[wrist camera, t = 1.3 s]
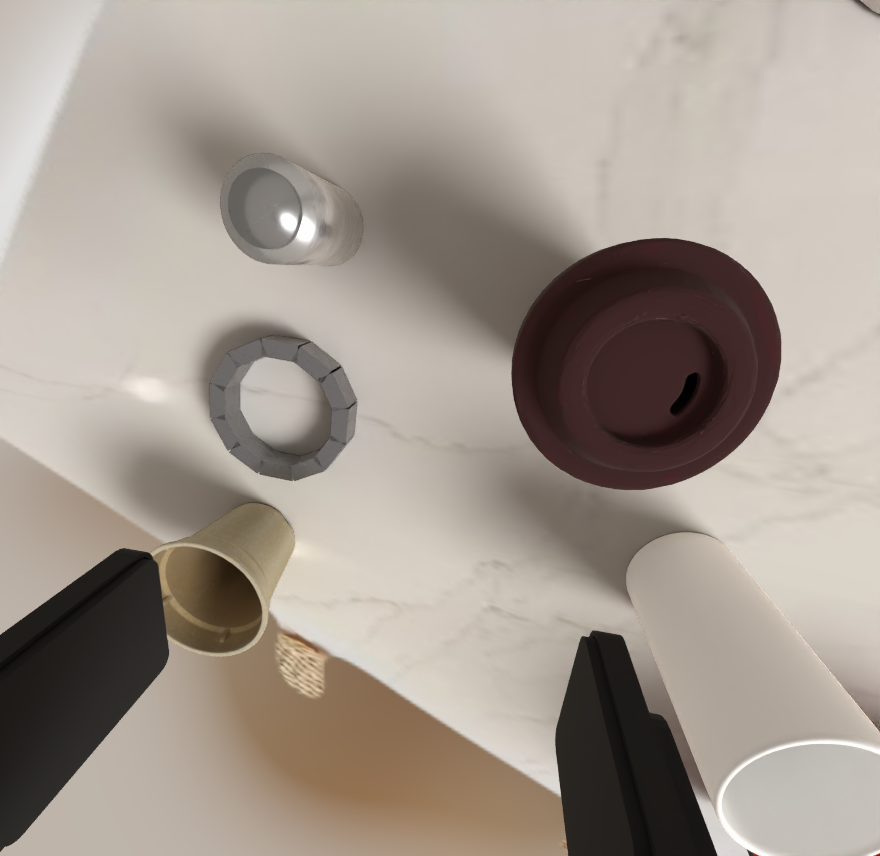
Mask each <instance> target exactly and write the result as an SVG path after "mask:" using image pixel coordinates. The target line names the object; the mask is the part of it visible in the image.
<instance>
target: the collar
mask: <svg viewBox="0 0 880 856" xmlns="http://www.w3.org/2000/svg"><path fill="white" fill-rule="evenodd" d="M264 357H269V358H275V359H280V360H286V361H291V362H295V363H296V364H297V365H299V366H300V367H301V368H302V369H304V370H305V371H306V372H307V373H309V374H310V375H311V376H313V377H314V378H315V379H316V380H318V381H319V382H320V385H321V387H322V389H323V391H324V393H325V395H326V397H327V400H328V402H329V404H330V406H331V408H332V419H331V433H330V438H329V440H328V441H327V442H326V444H325V445H324V446H323V448H322V449H320V450H317V451H314V452H311V453H308V454H306V455H303V456H298V455H293V454H288V453H283V452H278V451H274V450H273V449H272V448H271V447H269V446H268V445H267V444H265V443H264V442H263V441H261V440H260V439H259V438H257V437H256V436H255V435H253V433H252V431H251V429H250V428H249V426H248V424H247V422H246V420H245V418H244V416H243V414H242V412H241V410H240V382H241V381H242V379H243V378H244V376H245V375H246V373H247V371H248V370H249V368H250V367H251V365H252V364H253V362H254V361H257V360H259V359H261V358H264ZM340 366H341V365H340V364H339V363H337V362H336V361H335V360H334V359H332V358H331V357H330V356H329V355H327V354H326V353H325V352H324V351H322V350H321V349H320V348H319V347H317V346H316V345H315V344H314V343H313V342H311V343H310V341H306V340H301V339H295V338H290V337H284V336H278V335H274V336H273V335H272V336H268V337H265V338H261V339H258V340H256V341H253V342H251V343H249V344H246V345H244V346H242V347H239V348H237V349H234V350H232V351H230V352H229V353H227V354H226V355H225V357H224V359H223V360H222V362H221V364H220V365H219V367H218V368H217V370H216V372H215V373H214V375H213V377H212V378H211V380H210V382H211V383H209V396H210V417H211V418H213V419H211V421H212V423H213V425H214V427H215V428H216V430H217V432H218V434H219V436H220V438H221V439H222V441H223V443H224V445H225V447H226V449H227V450H231V451H230V452H229V453H231V454H232V455H233V456H235V457H236V458H237V459H239V460H240V461H241V462H243V463H244V464H245V465H247V466H248V467H249V468H251V469H252V470H253V471H255V472H256V473H259V472H260V475H265V476H270V477H275V478H280V479H285V480H290V481H293V480H294V481H296V480H299V479H302V478H305V477H308V476H311V475H314V474H317V473H320V472H323V471H325V470H326V469H327V468H328V467H329V466H330V465H331V464H332V462H333V461H334V460H335V459H336V458H337V457H338V455H339V454H340V453H341V451H342V450H343V449H344V448H345V446H346V445H347V444H348V443H349V441H350V440H351V439H352V438H353V435H354V432H355V422H356V411H357V402H355V401H356V400H357V399H356V397H355V394H354V392H353V390H352V388H351V385H350V383H349V381H348V379H347V376H346V374H345V372H344V370H343V367H342V368H339V367H340ZM338 368H339V369H338Z"/></svg>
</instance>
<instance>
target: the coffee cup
mask: <svg viewBox="0 0 880 856" xmlns="http://www.w3.org/2000/svg"><path fill="white" fill-rule="evenodd" d="M780 364H781V334H780V329H779V325H778V322H777V318H776V315H775V312H774V309H773V306H772V304H771V302H770V300H769V298H768V296H767V295H766V293H765V291H764V290H763V288H762V287H761V285H760V284H759V282H758V281H757V280H756V279H755V278H754V277H753V276H752V274H751V273H750V272H749V271H748V270H746V269H745V268H744V267H743V266H742V265H741V264H739V263H738V262H737V261H735V260H734V259H732V258H731V257H729V256H728V255H726V254H724V253H722V252H720V251H718V250H716V249H714V248H711V247H708V246H705V245H702V244H698V243H695V242H691V241H686V240H680V239H670V238H653V239H643V240H637V241H632V242H626V243H622V244H618V245H615V246H612V247H608V248H605V249H602V250H600V251H597V252H595V253H593V254H591V255H589V256H587V257H585V258H583V259H581V260H579V261H578V262H576V263H575V264H573V265H572V266H570V267H569V268H567V269H566V270H565V271H564V272H562V273H561V274H560V275H559V276H557V277H556V278H555V279H554V280H553V281H552V282H551V283H550V284H549V285H548V286H547V287H546V288H545V289H544V290H543V292H542V293H541V294H540V295H539V296H538V298H537V299H536V300H535V302H534V303H533V305H532V306H531V308H530V309H529V311H528V313H527V315H526V317H525V319H524V321H523V323H522V325H521V328H520V330H519V333H518V336H517V339H516V342H515V347H514V352H513V357H512V372H511V374H512V388H513V396H514V401H515V405H516V409H517V413H518V415H519V418H520V421H521V423H522V425H523V427H524V429H525V431H526V432H527V434H528V436H529V438H530V439H531V441H532V442H533V443H534V445H535V446H536V447H537V449H538V450H539V451H540V452H541V453H542V454H543V455H544V456H545V457H546V458H547V459H548V460H549V461H551V462H552V463H553V464H554V465H555V466H557V467H558V468H560V469H561V470H563V471H565V472H566V473H568V474H570V475H571V476H573V477H575V478H577V479H580V480H582V481H584V482H587V483H591V484H594V485H597V486H601V487H606V488H612V489H620V490H645V489H652V488H657V487H662V486H667V485H672V484H675V483H678V482H681V481H684V480H686V479H689V478H691V477H693V476H696V475H698V474H700V473H702V472H704V471H705V470H707V469H709V468H711V467H712V466H714V465H715V464H717V463H718V462H720V461H721V460H723V459H724V458H725V457H727V456H728V455H729V454H730V453H731V452H733V451H734V450H735V449H736V448H737V447H738V446H739V445H740V444H741V443H742V442H743V441H744V440H745V439H746V438H747V437H748V435H749V434H750V433H751V432H752V431H753V430H754V428H755V427H756V425H757V424H758V422H759V421H760V419H761V418H762V416H763V414H764V413H765V411H766V409H767V407H768V405H769V403H770V400H771V398H772V395H773V392H774V389H775V387H776V384H777V381H778V377H779V370H780Z"/></svg>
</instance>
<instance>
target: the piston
mask: <svg viewBox="0 0 880 856" xmlns="http://www.w3.org/2000/svg"><path fill="white" fill-rule="evenodd" d="M220 207H221V215H222V219H223V222H224V225H225V228H226V230H227V232H228V234H229V236H230V238H231V239H232V241H233V242H234V243H235V244H236V246H237V247H238V248H239V249H240V250H241V251H242V252H243V253H245V254H246V255H248V256H249V257H251V258H252V259H254V260H257V261H259V262H262V263H267V264H284V265H314V266H335V265H339V264H342V263H344V262H345V261H347V260H348V259H350V258H351V257H352V256H353V255H354V253H355V252H356V251H357V249H358V247H359V245H360V243H361V239H362V234H363V221H362V216H361V213H360V210H359V208H358V206H357V204H356V202H355V201H354V199H353V198H352V197H351V196H350V195H349V194H348V193H347V192H346V191H344V190H343V189H341V188H340V187H338V186H336V185H334V184H332V183H330V182H328V181H326V180H324V179H322V178H320V177H319V176H317V175H315V174H313V173H311V172H309V171H307V170H305V169H303V168H301V167H299V166H297V165H295V164H294V163H292V162H290V161H288V160H286V159H284V158H282V157H280V156H277V155H274V154H269V153H256V154H252V155H249V156H247V157H244V158H243V159H241V160H240V161H238V162H237V163H236V164H235V165H234V166H233V167H232V168H231V169H230V171H229V172H228V174H227V176H226V178H225V180H224V182H223V186H222V190H221V196H220Z"/></svg>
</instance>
